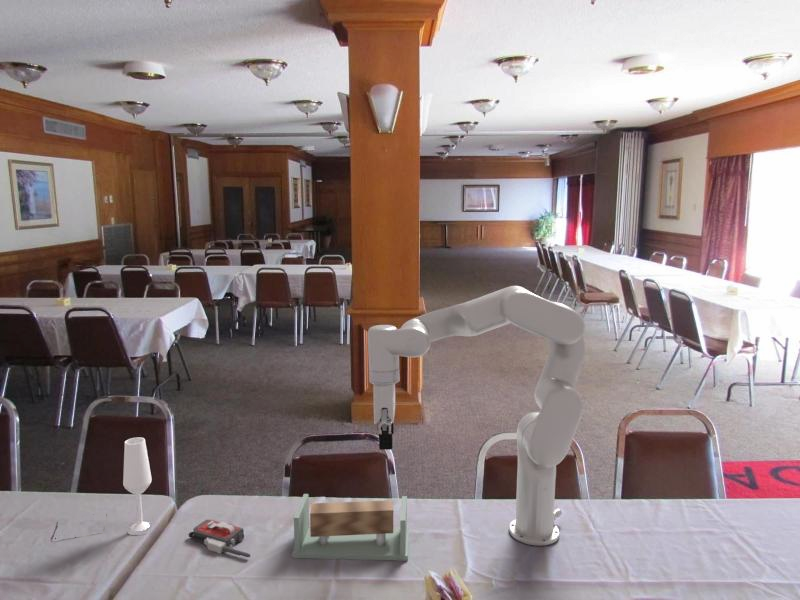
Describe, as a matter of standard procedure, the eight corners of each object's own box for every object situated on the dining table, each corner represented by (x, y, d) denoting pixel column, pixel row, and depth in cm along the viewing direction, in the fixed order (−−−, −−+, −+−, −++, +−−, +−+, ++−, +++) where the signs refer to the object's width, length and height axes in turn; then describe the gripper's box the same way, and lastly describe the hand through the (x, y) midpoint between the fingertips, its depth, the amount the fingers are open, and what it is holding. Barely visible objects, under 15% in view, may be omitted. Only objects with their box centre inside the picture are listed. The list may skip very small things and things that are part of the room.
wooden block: (310, 536, 143) (310, 513, 143) (311, 526, 148) (311, 503, 148) (393, 533, 145) (393, 510, 144) (391, 522, 150) (391, 500, 149)
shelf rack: (409, 533, 153) (409, 496, 151) (407, 560, 141) (408, 520, 140) (302, 530, 154) (301, 493, 153) (292, 557, 142) (291, 517, 141)
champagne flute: (120, 532, 153) (114, 443, 149) (140, 520, 159) (135, 434, 155) (140, 538, 150) (134, 447, 147) (160, 525, 156) (155, 438, 153)
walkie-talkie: (182, 544, 148) (247, 563, 140) (181, 527, 148) (246, 546, 140) (206, 527, 156) (269, 545, 148) (206, 511, 156) (269, 528, 148)
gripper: (371, 366, 156) (373, 429, 158) (366, 385, 139) (369, 455, 141) (400, 365, 155) (402, 428, 158) (399, 385, 138) (401, 455, 141)
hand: (386, 441), depth 150 cm, fingers open, 9 cm apart
